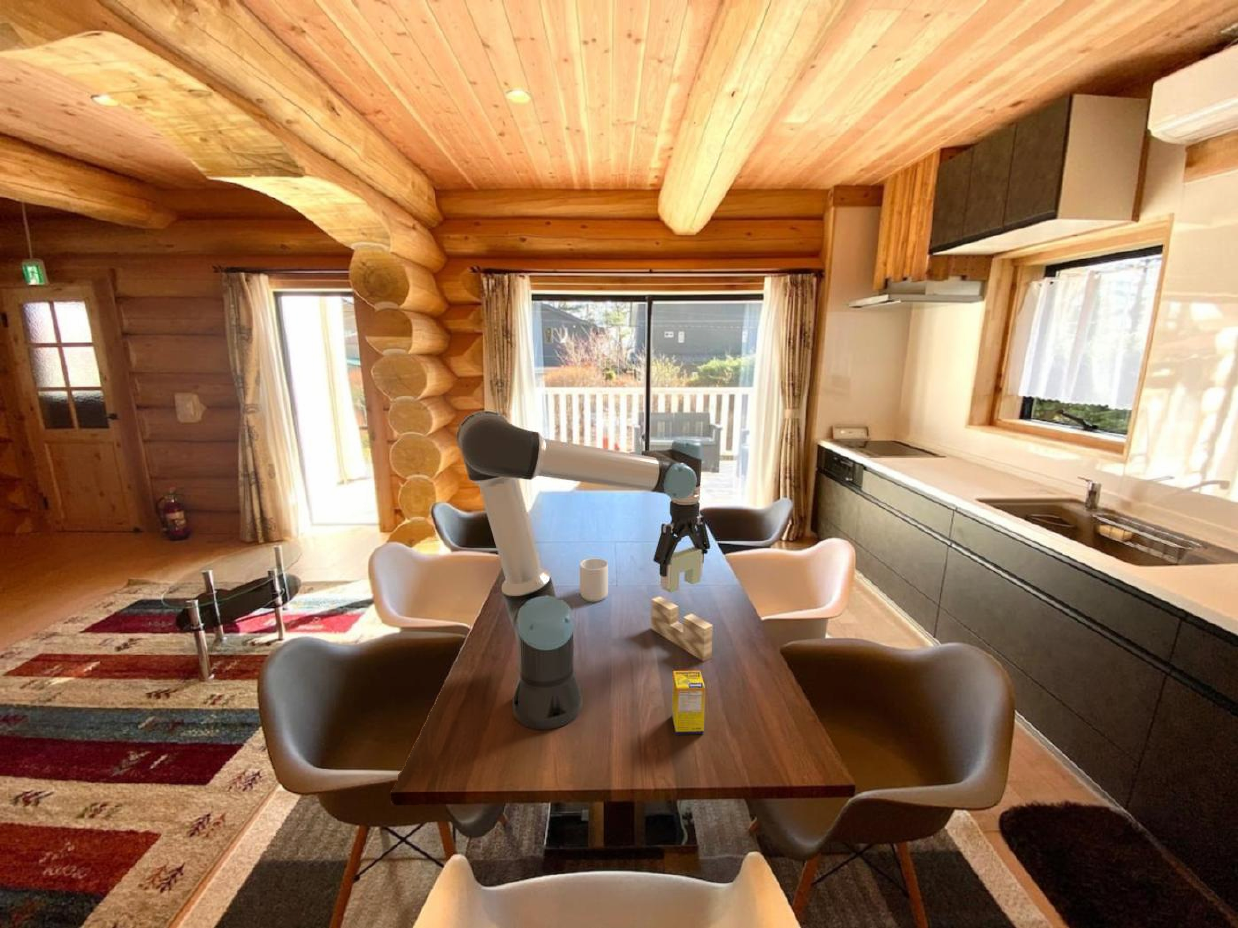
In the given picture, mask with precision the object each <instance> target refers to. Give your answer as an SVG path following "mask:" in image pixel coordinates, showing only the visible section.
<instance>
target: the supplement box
mask: <svg viewBox="0 0 1238 928" xmlns="http://www.w3.org/2000/svg"><path fill="white" fill-rule="evenodd" d="M671 693H672V695H671V696H672V697H671V700H672V701H671V717H672V723H673V726H674V727H673V729H674V732H675V735H677V736H678V735H703V734H704V733H705V732H704V731H705V705H706V687H705V683H704V680H703V676H702V673H701V670H673V671H672V692H671Z"/></svg>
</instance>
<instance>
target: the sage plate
mask: <svg viewBox="0 0 1238 928" xmlns="http://www.w3.org/2000/svg"><path fill="white" fill-rule="evenodd" d="M701 556H702V550H701V549H698V548H696V547H694V545H693V546H691V547H687V548H685V549H681V550H678V551H674V553H673V555H672V557H671V559H670V561H669V564H671V575H670V589H666V588H664V587H663V586H661V587H662V589H663V590H664V591H667V592H668V593H674V592H676V591H679V590H680V574H681V573H684V576H683V577H684V578H683V581H685V582H687V583H689V584H690V585H694V584H697V583H700V582H701V577H700V576H701ZM664 559H665V558H664Z"/></svg>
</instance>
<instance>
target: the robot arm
mask: <svg viewBox="0 0 1238 928" xmlns="http://www.w3.org/2000/svg"><path fill="white" fill-rule="evenodd" d="M456 442H457V446H458V448H459V450H460V453H461V456H462V460H463V463H464V466H465V469H466V473H467V476H468V480H469V481H470V482H472V483H474V484H475V485H477V486H478V488H479V491H480V495H481V498H482V502H483V505H484V509H485V512H486V515H487V520H488V523H489V526H490V529H491V530H490V531H491V533H492V536H493V539H494V543H495V546H496V547H495V548H496V549H497V554H498V557H499V560H500V563H501V568H502V571H503V574H504V575H503V576H504V577H505V578H504V581H503V583H502V585H501V592H502V595H503V598H504V599H503V600H504V602H505V609H506V613H507V614H508V617H509V619H510V622H511V626H512V629H513V632H514V635H515V639H516V641H517V645H518V662H519V663H518V665H519V678H518V681H517V685H516V687H515V691H514V694H513V698H512V712H513V715H514V717H515V718H516V720H517V722H519V723H520V724H521V725H523V726H525V727H528V728H531V729H535V730H551V729H556V728H560V727H562V726H565V725H567V724H569V723H570V722H572V721H574V720H575V719H576V718H577V717H578V715H579V714H580V712H581V711H582V707H583V693H582V689H581V687H580V684H579V681H578V678H577V676H576V674H575V667H574V664H575V661H574V627H575V623H574V622H575V621H574V617H573V611H572V609H571V606H569V604H568V603H567V602H566V601H564V600H563V599H558V598H557V595H556V591H555V587H554V584H553V581H552V576H551V574H550V572H549V570H547V569H545V568H542V565H541V561H540V557H539V553H538V550H537V545H536V541H535V538H534V534H533V531H532V526H531V522H530V519H529V515H528V511H527V508H526V503H525V501H524V497H523V492H522V489H521V485H520V481H519V479H521V480H528V481H532V480H533V479H535V478H536V477H544V478H551V479H559V480H565V481H573V482H579V483H587V484H595V485H602V486H608V487H609V486H610V487H617V488H624V489H629V490H637V491H639V490H640V491H645V492H650V493H651V492H652V493H657V494H664V495H667V496H668V497H669V498H670V500H671V501H670V502H669V515H670V517H671V520H670V523H668V524H665V523H662V524H661V526H660V535H659V538H658V543H657V546H656V550H655V552H654V557H653V562H654V563H657V564H658V565H659V576H660V586H661V587H662V586H663V587H664V588H666V589H670V575H671V564H669V561H670V559H671V557H672V555H673V553H674V552H675V551H676V548H677V546H678V544H679V542H681V541H682V539H683V538H685V537H688V538H689V539H690V541H691V543H692V545H693V546H694V547H696V548H698V549H701V550H702V556H701V576H700V578H702V577H703V564H704V561H705V555H707V554H708V553H709V551H708V550H710V548H711V543H710V539H709V533H708V529H707V525H706V522H707V521H706V520H707V519H706V516H704V515H700V506H701V504H700V502H699V501H701V499H700V498H701V482H702V480H701V478H702V466H703V465H702V462H703V450H702V449H703V448H702V444H701V443H700V441H698V440H694V439H676V440H673V441H672V442H671V446H670V448H669V449H656V450H639V451H637V450H636V451H631V452H624V451H618V450H614V449H612V450H611V449H606V448H601V447H596V446H590V445H583V444H577V443H573V442H571V443H570V442H567V441H566V442H565V441H560V440H554V439H549V438H544V437H543V436H542V435H541V434H540V432H538V431H533V430H527V429H524V428H521V427H519V426H516V425H514V424H512V423H510V422H509V421H508V420H507V419H506V418H505V417H504V416H503V415H502V414H500V413H498V412H496V411H490V410H489V411H488V410H480V411H477V412H473V413H472V414H469V415H467V417H465V418H464V419H463V421H462V422H461V424H460V425H459V427H458V429H457V432H456ZM664 558H665V559H664Z"/></svg>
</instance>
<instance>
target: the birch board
mask: <svg viewBox="0 0 1238 928" xmlns="http://www.w3.org/2000/svg"><path fill="white" fill-rule="evenodd" d="M650 608H651V614H650V615H651V617H650V618H651V619H650V620H651V621H650V622H651V623H650V629H651V630H653V631H654V632H656V633H657V634H659V635H661V636H662V637H664V638H666V639H667V640H668V641H670V642H672V643H673V644H675V645H677V646H678V647H679V648H681V649H682V650H684V651H686V652H688V653H689V654H691V655H692V656H694V657H696V658H697V659H699V660H700V661H702V662H705V661H707V660H708V659H711V658H712V656H713V655H712V652H713V651H712V649H713V634H714V633H713V631H714V630H713V629H714V625H713V624H711V623H709V622H707V621H706V620H704V619H702V618H701V617H698V616H696V615H695V614H693V613H690V614H687V615H685V616H683V619H682V623H681V622H679V606H678V605H677V604H675V603H673V602H671V601H670V600H668V599H666V598H663V597H662V596H660V595H659V596H656V597H654V598H651V607H650Z"/></svg>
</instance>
